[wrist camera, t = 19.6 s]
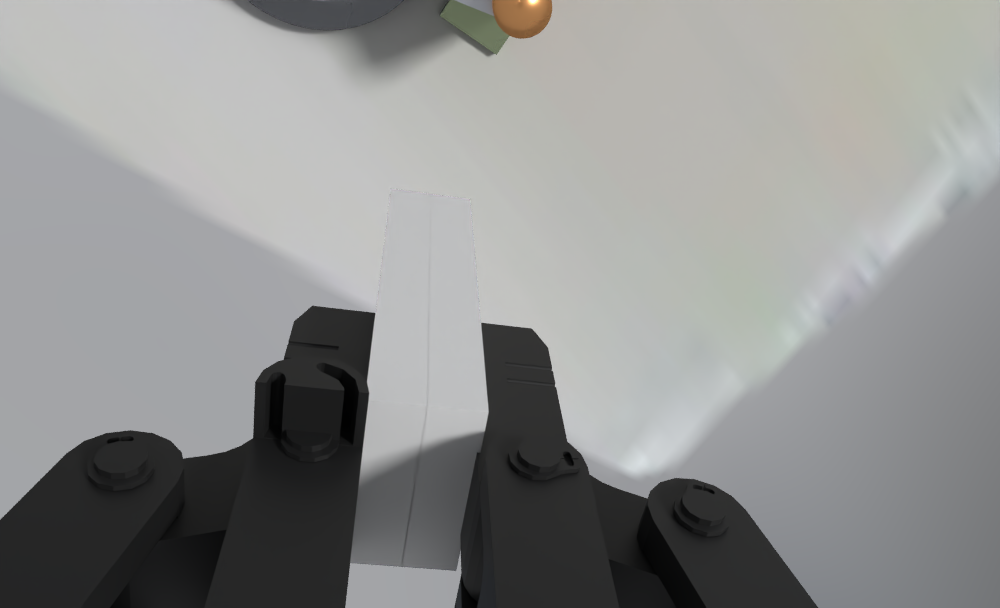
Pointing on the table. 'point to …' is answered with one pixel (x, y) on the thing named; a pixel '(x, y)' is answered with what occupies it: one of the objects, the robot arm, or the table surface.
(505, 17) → the lever with ball knob
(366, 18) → the base
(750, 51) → the table surface
